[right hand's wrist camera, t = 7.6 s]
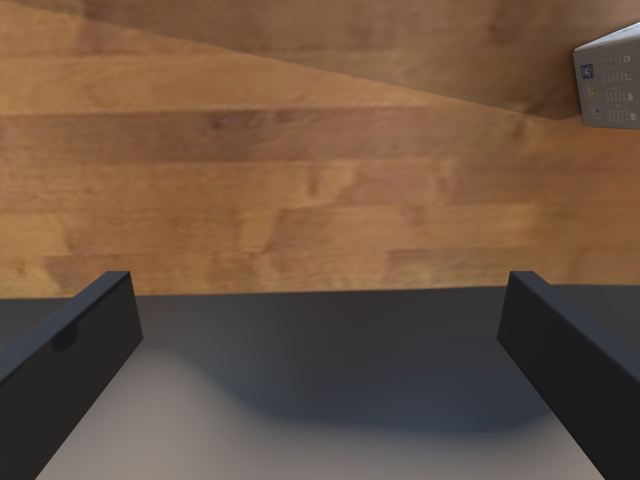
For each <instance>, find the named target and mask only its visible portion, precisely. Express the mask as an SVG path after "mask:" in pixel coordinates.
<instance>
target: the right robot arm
mask: <svg viewBox="0 0 640 480" xmlns="http://www.w3.org/2000/svg"><path fill="white" fill-rule="evenodd" d="M142 340H143V335H142V330H141V325H140V320H139V315H138V310H137V305H136V300H135V295H134V290H133V285H132V280H131V275H130V271H107V272H106V273H104V274H103V275H102V276H100V277H99V278H98V279H96V280H95V281H94V282H93V283H91V284H90V285H89V286H87V287H86V288H85V289H83V290H82V291H81V292H79V293H78V294H77V295H76V296H74V297H73V298H72V299H70V300H69V301H68V302H66V303H65V304H64V305H62V306H61V307H60V308H59V309H57V310H56V311H55V312H53V313H52V314H51V315H49V316H48V317H47V318H46V319H44V320H43V321H42V322H40V323H39V324H38V325H36V326H35V327H34V328H32V329H31V330H30V331H29V332H27V333H26V334H25V335H23V336H22V337H21V338H19V339H18V340H17V341H15V342H14V343H13V344H11V345H10V346H9V347H8V348H6V349H5V350H4V351H1V352H0V480H35V479H36V477H37V476H38V475H39V474H40V472H41V471H42V470H43V468H44V467H45V466H46V464H47V463H48V462H49V461H50V459H51V458H52V457H53V455H54V454H55V453H56V451H57V450H58V449H59V448H60V446H61V445H62V444H63V442H64V441H65V440H66V438H67V437H68V436H69V435H70V433H71V432H72V431H73V429H74V428H75V427H76V425H77V424H78V423H79V422H80V420H81V419H82V418H83V416H84V415H85V414H86V412H87V411H88V410H89V409H90V407H91V406H92V405H93V403H94V402H95V401H96V399H97V398H98V397H99V396H100V394H101V393H102V392H103V390H104V389H105V388H106V386H107V385H108V384H109V382H110V381H111V380H112V379H113V377H114V376H115V375H116V373H117V372H118V371H119V370H120V368H121V367H122V366H123V364H124V363H125V362H126V360H127V359H128V358H129V357H130V355H131V354H132V353H133V351H134V350H135V349H136V347H137V346H138V345H139V343H140V342H141V341H142ZM497 340H498V341H499V342H500V343H501V345H502V346H503V347H504V349H505V350H506V351H507V353H508V354H509V355H510V356H511V358H512V359H513V360H514V362H515V363H516V364H517V366H518V367H519V368H520V370H521V371H522V372H523V373H524V375H525V376H526V377H527V379H528V380H529V381H530V382H531V384H532V385H533V386H534V388H535V389H536V390H537V392H538V393H539V394H540V396H541V397H542V398H543V399H544V401H545V402H546V403H547V405H548V406H549V407H550V409H551V410H552V411H553V412H554V414H555V415H556V416H557V418H558V419H559V420H560V422H561V423H562V424H563V425H564V427H565V428H566V429H567V431H568V432H569V433H570V435H571V436H572V437H573V438H574V440H575V441H576V442H577V444H578V445H579V446H580V448H581V449H582V450H583V451H584V453H585V454H586V455H587V457H588V458H589V459H590V461H591V462H592V463H593V464H594V466H595V467H596V468H597V470H598V471H599V472H600V474H601V475H602V476H603V477H604V479H605V480H640V350H635V349H634V348H632V347H631V346H630V345H629V344H627V343H626V342H625V341H623V340H622V339H621V338H619V337H618V336H617V335H615V334H614V333H613V332H612V331H610V330H609V329H608V328H606V327H605V326H604V325H602V324H601V323H600V322H598V321H597V320H596V319H595V318H593V317H592V316H591V315H589V314H588V313H587V312H585V311H584V310H583V309H581V308H580V307H579V306H578V305H576V304H575V303H573V302H572V301H571V300H570V299H568V298H567V297H566V296H564V295H563V294H562V293H561V292H559V291H558V290H557V289H555V288H554V287H553V286H551V285H550V284H549V283H547V282H546V281H545V280H544V279H542V278H541V277H540V276H538V275H537V274H536V273H534V272H533V271H510V275H509V280H508V285H507V290H506V295H505V300H504V305H503V310H502V315H501V320H500V325H499V330H498V335H497Z"/></svg>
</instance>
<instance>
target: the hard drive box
mask: <svg viewBox="0 0 640 480" xmlns="http://www.w3.org/2000/svg"><path fill="white" fill-rule="evenodd" d="M573 60H574V67H575V72H576V79H577V85H578V92H579V98H580V104H581V111H582V118H583V123H584V126H590V127H604V128H619V129H635V130H640V22H639V23H637V24H634V25H632V26H629V27H627V28H624V29H622V30H619V31H617V32H614V33H612V34H609V35H607V36H605V37H602V38H600V39H598V40H595V41H593V42H590V43H588V44H585V45H583V46H581V47H578V48H576V49H575V52H574V53H573Z"/></svg>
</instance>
